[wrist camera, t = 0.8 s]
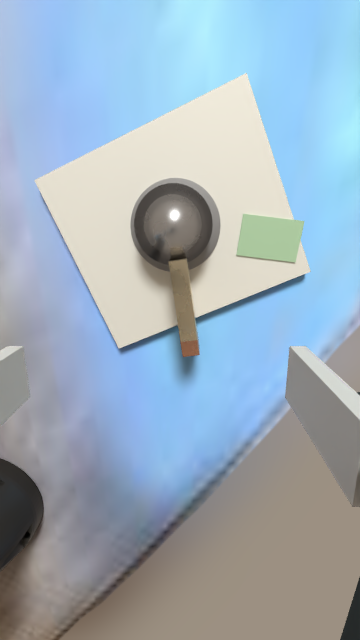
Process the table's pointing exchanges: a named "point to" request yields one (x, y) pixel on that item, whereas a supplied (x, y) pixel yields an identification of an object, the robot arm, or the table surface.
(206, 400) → the table surface
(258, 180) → the board
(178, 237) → the peg dial
